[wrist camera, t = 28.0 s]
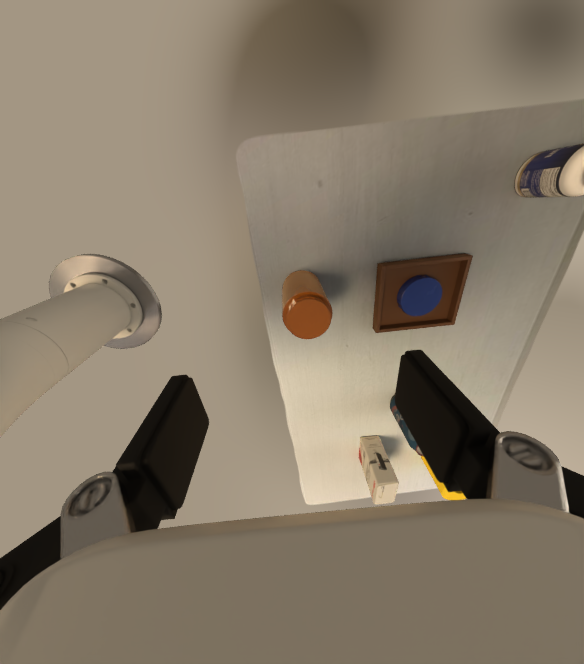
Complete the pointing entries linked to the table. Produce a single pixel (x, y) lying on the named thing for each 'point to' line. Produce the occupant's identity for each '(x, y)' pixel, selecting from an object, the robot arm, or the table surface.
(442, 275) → the tray
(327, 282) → the table surface
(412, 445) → the soda can
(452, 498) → the yellow hollow cylinder
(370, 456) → the ink box
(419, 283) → the jar lid
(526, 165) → the pill bottle
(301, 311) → the jar
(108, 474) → the robot arm
